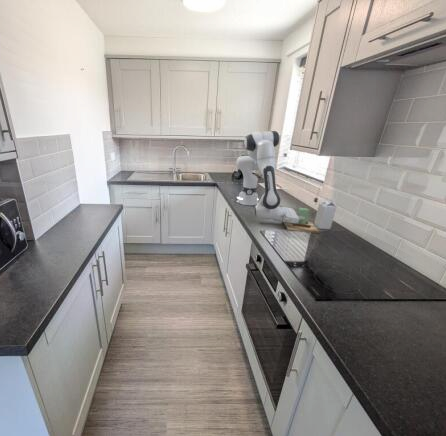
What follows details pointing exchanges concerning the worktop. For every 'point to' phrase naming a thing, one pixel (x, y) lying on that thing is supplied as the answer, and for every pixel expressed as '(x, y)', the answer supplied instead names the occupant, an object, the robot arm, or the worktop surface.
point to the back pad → (304, 213)
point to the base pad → (301, 227)
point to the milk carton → (325, 214)
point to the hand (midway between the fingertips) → (303, 216)
